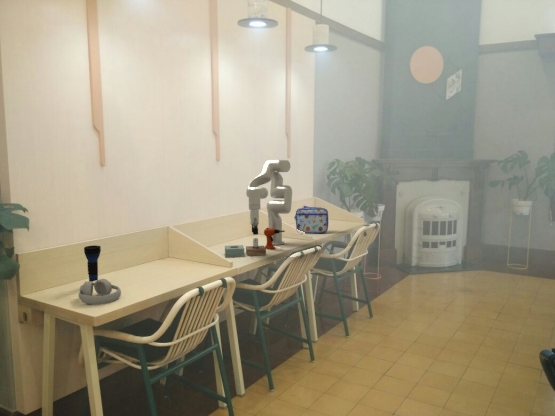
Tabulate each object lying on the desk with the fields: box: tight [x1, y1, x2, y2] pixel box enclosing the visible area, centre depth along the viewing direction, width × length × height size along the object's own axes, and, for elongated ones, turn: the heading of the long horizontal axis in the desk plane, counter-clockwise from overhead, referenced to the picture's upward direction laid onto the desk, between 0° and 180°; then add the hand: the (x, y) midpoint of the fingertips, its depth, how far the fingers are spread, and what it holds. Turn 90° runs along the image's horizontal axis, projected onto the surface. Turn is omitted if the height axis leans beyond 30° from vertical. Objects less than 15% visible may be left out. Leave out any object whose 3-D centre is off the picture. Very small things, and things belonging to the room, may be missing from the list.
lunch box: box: [293, 205, 329, 234], centre depth 400 cm, size 28×10×22 cm, turn 82°
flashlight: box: [83, 245, 102, 286], centre depth 256 cm, size 8×8×20 cm
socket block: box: [245, 245, 267, 257], centre depth 326 cm, size 12×12×4 cm
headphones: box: [78, 278, 122, 306], centre depth 233 cm, size 18×8×20 cm
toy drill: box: [263, 227, 286, 251], centre depth 338 cm, size 5×19×15 cm, turn 49°
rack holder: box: [224, 244, 245, 258], centre depth 324 cm, size 12×12×5 cm
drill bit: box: [252, 237, 259, 248], centre depth 326 cm, size 3×3×10 cm
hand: (254, 233), depth 324 cm, fingers open, 9 cm apart
